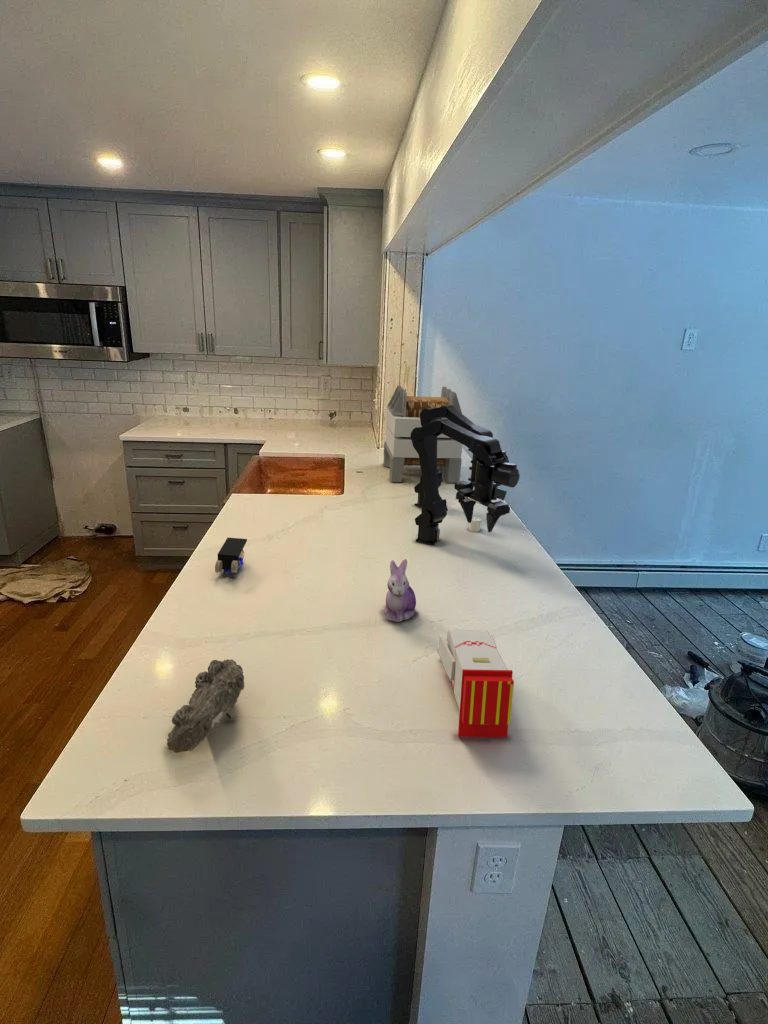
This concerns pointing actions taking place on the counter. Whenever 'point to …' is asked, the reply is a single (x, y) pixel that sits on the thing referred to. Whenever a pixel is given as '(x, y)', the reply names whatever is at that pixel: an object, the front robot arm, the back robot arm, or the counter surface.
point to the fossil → (206, 705)
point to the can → (475, 524)
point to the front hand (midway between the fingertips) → (479, 527)
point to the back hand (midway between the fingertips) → (476, 505)
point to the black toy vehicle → (230, 556)
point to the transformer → (400, 425)
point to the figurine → (399, 594)
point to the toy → (478, 682)
